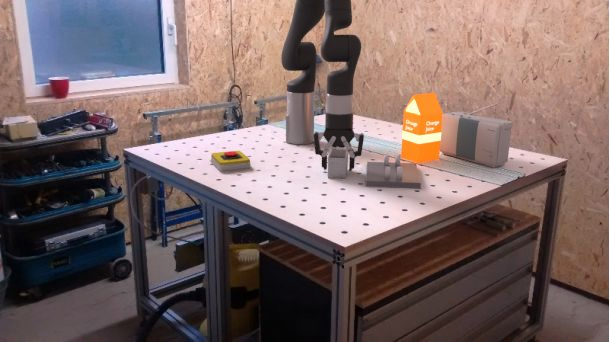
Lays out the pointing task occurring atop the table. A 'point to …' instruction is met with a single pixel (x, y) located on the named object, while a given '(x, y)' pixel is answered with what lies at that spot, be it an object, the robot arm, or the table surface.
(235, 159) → the emergency button
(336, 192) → the table surface
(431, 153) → the orange juice
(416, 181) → the pin tray
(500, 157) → the stereo radio cassette player
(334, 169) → the grey boxy piece
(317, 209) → the table surface
